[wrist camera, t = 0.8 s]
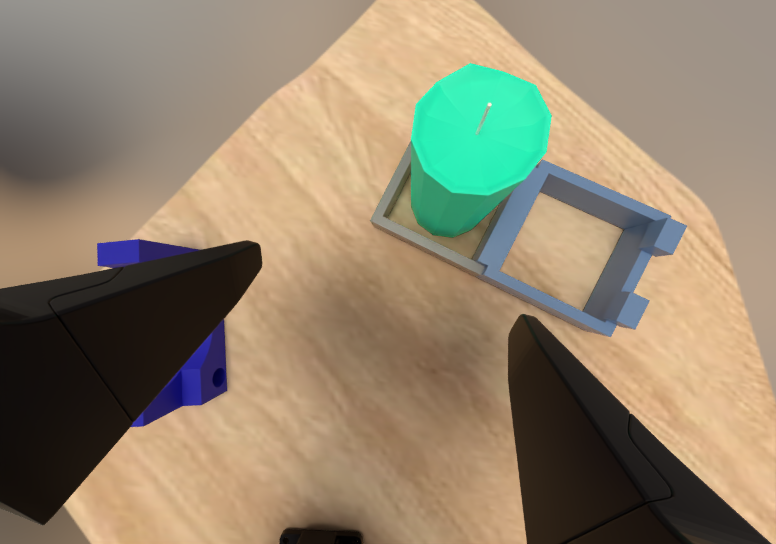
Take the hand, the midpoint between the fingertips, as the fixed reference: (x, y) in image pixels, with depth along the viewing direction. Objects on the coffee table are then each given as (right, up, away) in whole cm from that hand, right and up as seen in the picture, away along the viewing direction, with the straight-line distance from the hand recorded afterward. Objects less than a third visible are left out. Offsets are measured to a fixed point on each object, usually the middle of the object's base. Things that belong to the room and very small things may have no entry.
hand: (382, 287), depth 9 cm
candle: (+5, +6, +13) cm, 16 cm away
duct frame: (+9, +4, +13) cm, 16 cm away
